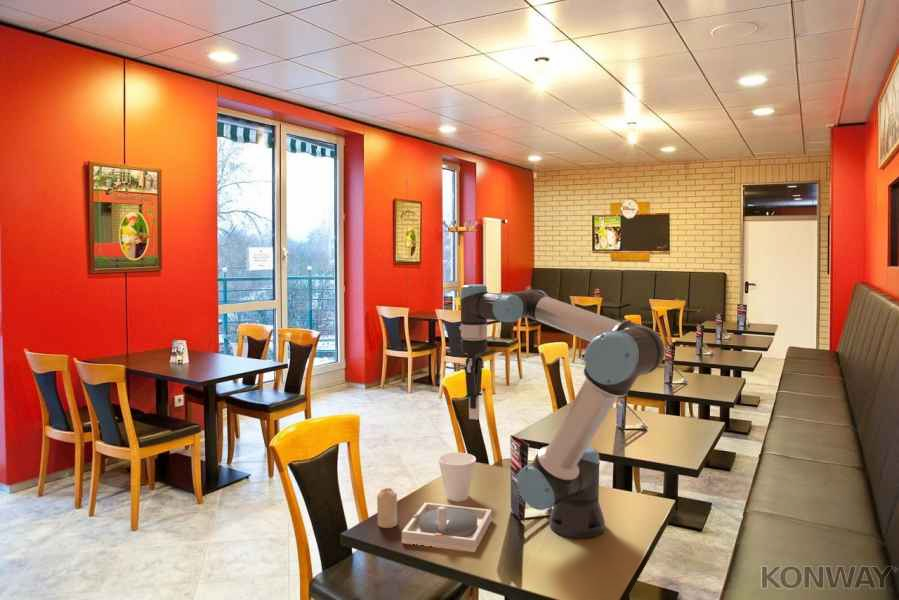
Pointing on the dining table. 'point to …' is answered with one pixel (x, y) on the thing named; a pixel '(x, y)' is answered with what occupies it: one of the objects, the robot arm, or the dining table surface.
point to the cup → (457, 474)
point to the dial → (448, 522)
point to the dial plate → (470, 543)
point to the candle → (387, 508)
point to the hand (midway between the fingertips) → (474, 418)
